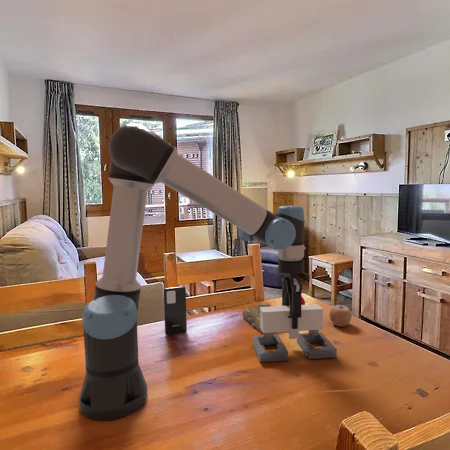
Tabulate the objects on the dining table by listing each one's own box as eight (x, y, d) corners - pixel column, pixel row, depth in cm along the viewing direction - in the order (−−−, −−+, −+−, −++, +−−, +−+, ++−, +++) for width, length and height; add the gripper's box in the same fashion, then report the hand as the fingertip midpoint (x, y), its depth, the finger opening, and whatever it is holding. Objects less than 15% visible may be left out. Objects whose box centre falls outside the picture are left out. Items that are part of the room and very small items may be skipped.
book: (287, 328, 123) (287, 314, 122) (258, 333, 119) (258, 319, 119) (267, 315, 137) (267, 302, 136) (241, 319, 133) (240, 306, 132)
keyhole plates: (260, 362, 99) (260, 353, 99) (252, 344, 110) (252, 336, 110) (336, 357, 101) (336, 348, 101) (321, 339, 113) (321, 332, 112)
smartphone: (186, 332, 120) (185, 286, 119) (187, 333, 119) (185, 286, 118) (164, 335, 118) (163, 288, 117) (165, 336, 117) (163, 289, 116)
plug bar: (263, 340, 104) (262, 312, 103) (260, 334, 109) (259, 307, 108) (322, 336, 106) (322, 308, 105) (317, 330, 110) (317, 304, 109)
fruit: (327, 320, 129) (328, 299, 128) (349, 321, 128) (349, 299, 127) (331, 329, 121) (331, 306, 120) (353, 329, 120) (354, 306, 119)
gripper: (313, 264, 96) (313, 346, 99) (294, 252, 114) (294, 323, 116) (286, 265, 96) (286, 348, 98) (271, 253, 113) (272, 324, 115)
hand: (291, 334), depth 107 cm, fingers closed on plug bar, 4 cm apart
